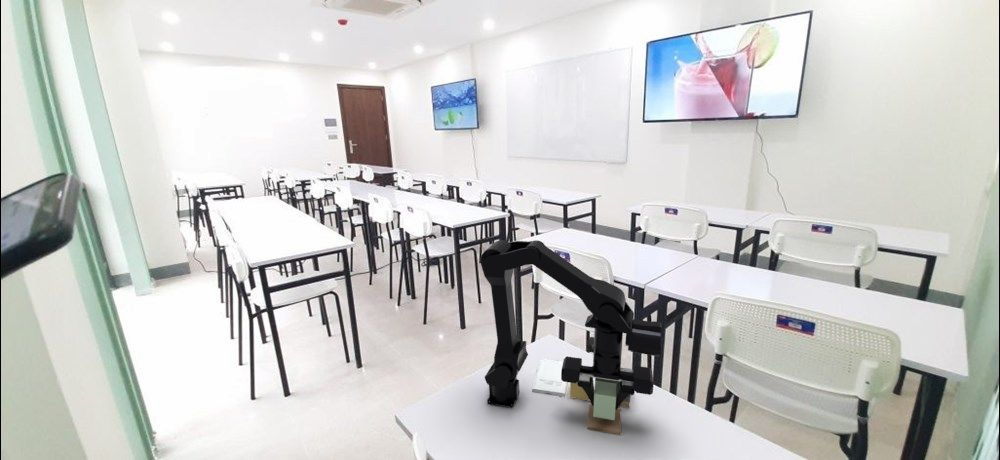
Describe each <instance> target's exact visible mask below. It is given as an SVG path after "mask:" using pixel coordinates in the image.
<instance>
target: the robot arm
mask: <svg viewBox="0 0 1000 460" xmlns="http://www.w3.org/2000/svg"><path fill="white" fill-rule="evenodd" d="M479 259H480V260H479V261H480V266H481V269H482V272H483V273H482V274H483V277H484V278H485V279H486V281H487V282H488V283H489V285H490V290H491V296H492V298H491V299H492V305H493V307H492V308H493V313H494V321H495V322H494V324H495V333H496V338H497V342H496V343H497V344H496V348H495V352H494V358H493V362H492V364H491V366H490V368H489V369H488V371H487V372H486V373H485V375H484V380H485V383H486V384H487V385H488V394H489V395H488V396H489V397H488V398H487V404H488V405H489V404H490V405H495V406H501V407H506V408H514V406H515V404H516V401H518V399H519V397H520V380H519V379H518V374H519V373H520V371H521V369H522V368H523V365H524V364H525V362H526V360H527V357H528V356H529V353H528V351H527V341H526V340H521V339H520V337H518V333H517V323H516V313H515V304H514V296H513V294H514V293H513V287H512V286H513V285H512V278H513V273H514V269H517V268H521V267H523V266H529V265H533V266H534V267H536V268H538V269H539V270H540V271H542V272H543V273H544V274H546V275H547V276H548V277H550V278H551V279H552V280H554V281H556V282H557V283H558V284H560V285H562V286H563V287H565V289H567V290H569V291H570V292H571V293H573V294H575V295H576V296H577V297H578V298H579V300H581V302H582V303H583V304H584V306H585V308H586V309H587V310H588V311H589V312H590V315H588V316H587V317H586V321H585V324H584V327H586V328H590V329H594V330H593V331H594V333H593V334H594V335H593V336H589V337H588V343H587V345H588V347H587V352H588V353H593V356H592V357H593V358H592V359H593V360H592V362H593V363H592V366H588V365H583V359H582V357H581V358H580V357H573V356H567V355H566V356H565V358H563V361H562V362H563V366H562V371H561V380H562V381H563V382H567V383H569V384H570V383H577V382H578V383H577V385H578V386H579V387H582V388H583V390H584V391H585V393H586V394H587V396H588V398H589V400H588V401H589V402H590V404H591V405H592V406H594V391H595V383H594V379H595V378H600V379H607V380H614V381H619V386H618V390H617V395H616V406H615V410H617V409H619V407H621V406H620V405H621V403H622V402H623V401H624V400H625V399H626V398H627V397H628V396H629V395H630V396H634V395H635V393H637V394H640V395H641V394H643V395H647V396H650V395H652V394H653V393H654V376H653V370H652V369H651V367H647V366H639V365H632V368H628V369H622V370H621V368H622V367H621V366H622V355H623V354H622V353H623V352H622V351H623V338H624V337H623V336H624V334H625V345H624V346H626V347H627V351H629V352H630V353H636V354H641V355H647V356H654V357H658V358H660V357H661V352H662V351H661V350H662V322H661V321H654V320H653V321H649V320H642V319H635V313H634V311H633V310H632V308H631V307H630V305H629V304H628V302H627V301H626V295H625V292H624V290H622V289H621V288H619V287H618V286H616V285H614V284H612V283H610V282H608V281H605V280H602V279H597V278H594V277H591V276H590V275H588V274H587V273H585V272H584V271H583V270H581V269H580V268H578V267H576V266H575V265H574V264H573V263H571V262H570V261H568V260H566V259H565V258H563V256H561V255H560V254H558V253H556V252H555V251H553V250H552V249H550V248H549V247H548V246H547V245H545V243H544V242H542V241H541V240H530V241H525V240H514V241H508V240H502V239H500V240H497V241H494V243H493V244H491V245H490V246H489V247H488V248H487V249H485V250H484V251H483V252H482V254H481V255H480V258H479Z"/></svg>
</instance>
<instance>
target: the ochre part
mask: <svg viewBox="0 0 1000 460" xmlns="http://www.w3.org/2000/svg"><path fill="white" fill-rule="evenodd" d="M577 383H578V382H577ZM577 383H570V382H569V384H570V387H569V392H570V393H569V398H572V399H578V400H585V401H590V400H589V398H588V396H587V394H586V393H585V391H584V390H583V388H582V387H579V386H578V385H577Z"/></svg>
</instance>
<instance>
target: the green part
mask: <svg viewBox="0 0 1000 460" xmlns="http://www.w3.org/2000/svg"><path fill="white" fill-rule="evenodd" d="M615 406H616V383H609V382H602V381H595V380H594V412H593V417H598V418H604V419H610V420H615Z"/></svg>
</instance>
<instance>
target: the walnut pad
mask: <svg viewBox="0 0 1000 460" xmlns="http://www.w3.org/2000/svg"><path fill="white" fill-rule="evenodd" d="M593 412H594V406H592V404H591V403H590V404H589V406H588V415H587V423H586V430H589V431H594V432H600V433H604V434H611V435H616V436H621V426H622V425H621V422H622V421H621V415H622V414H621V412H622V411H621V409H620V408H618V409H617V410H615V420H610V419H604V418H598V417H593Z"/></svg>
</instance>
